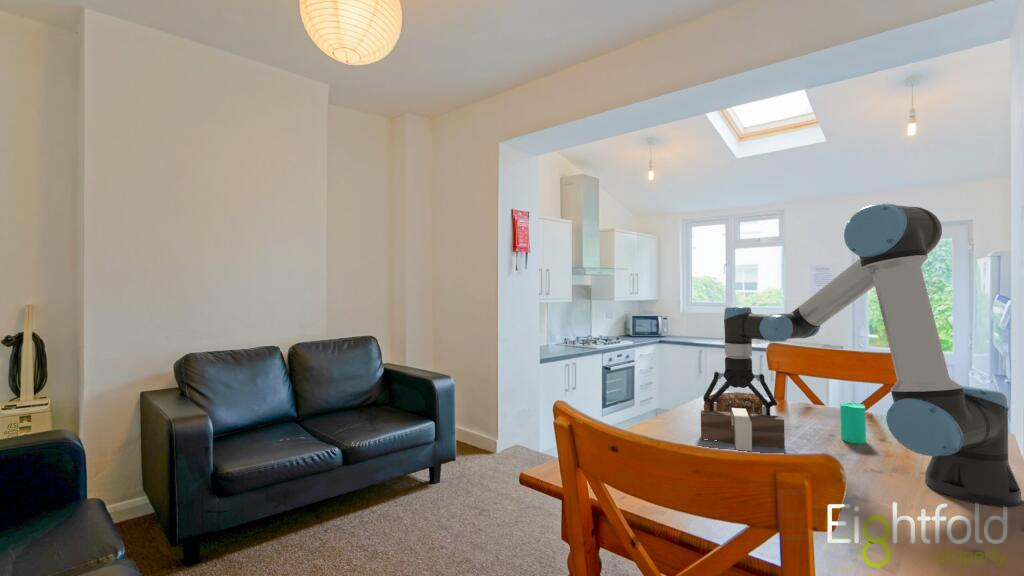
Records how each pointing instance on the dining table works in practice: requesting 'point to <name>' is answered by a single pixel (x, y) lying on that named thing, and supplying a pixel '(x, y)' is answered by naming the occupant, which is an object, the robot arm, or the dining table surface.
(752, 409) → the bread
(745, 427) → the cream bar
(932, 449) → the robot arm
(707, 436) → the walnut rail
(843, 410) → the candle
